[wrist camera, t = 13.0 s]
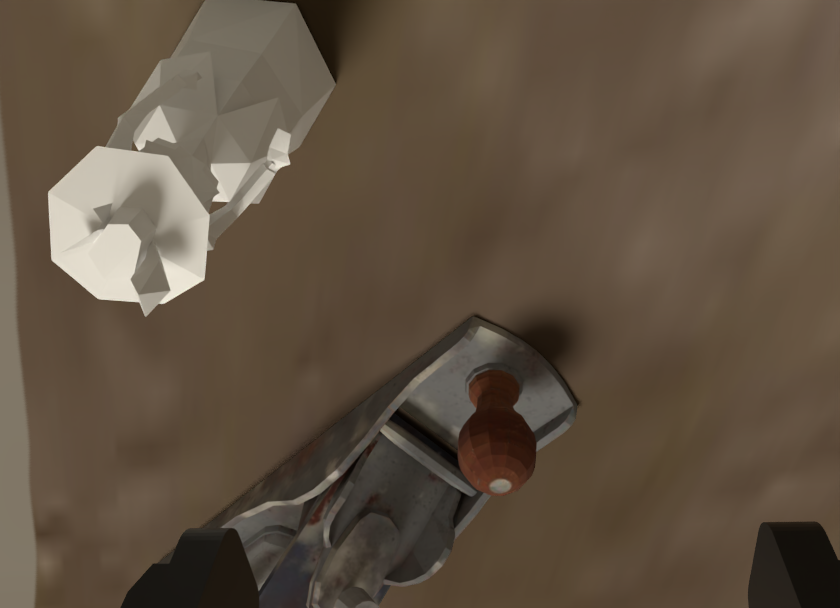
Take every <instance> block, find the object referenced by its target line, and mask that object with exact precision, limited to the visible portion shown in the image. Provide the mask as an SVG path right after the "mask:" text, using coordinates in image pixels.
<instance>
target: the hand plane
mask: <svg viewBox="0 0 840 608" xmlns="http://www.w3.org/2000/svg"><path fill="white" fill-rule="evenodd" d="M399 406H400V407H401V408H402V409H404V410H405V411H406V412H408V413H409V414H410V415H411V416H413V417H414V418H415V419H417V420H418V421H419V422H421V423H422V424H423V425H425V426H426V427H427V428H429V429H430V430H431V431H433V432H434V433H435V434H437V435H438V436H439V437H441V438H442V439H443V440H445V441H446V442H447V443H449V444H450V445H451V446H452V447H454V448H455V449H456V450H458V460H456V459H455V458H454V457H452V456H451V455H450V454H448V453H447V452H445V451H444V450H443V449H441V448H440V447H439V446H437V445H436V444H435V443H433V442H432V441H431V440H429V439H428V438H427V437H425V436H424V435H423V434H421V433H420V432H419V431H417V430H416V429H415V428H413V427H412V426H411V425H409V424H408V423H407V422H405V421H404V420H403V419H401V418H400V417H399V416H397V415H396V414H395V413H394V412H395V411H396V410H397V408H398V407H399ZM576 412H577V404H576V402H575V400H574V398H573V396H572V395H571V393H570V391H569V389H568V387H567V386H566V384H565V382H564V381H563V380H562V378H561V377H560V376H559V374H558V373H557V372H556V371H555V369H554V368H553V367H552V366H551V365H550V364H549V362H548V361H547V360H546V359H545V358H544V357H543V356H542V355H541V354H540V353H539V352H538V351H536V350H535V349H534V348H532V347H531V346H529V345H528V344H527V343H525V342H524V341H523V340H521V339H520V338H518V337H516V336H514V335H512V334H511V333H509V332H507V331H505V330H504V329H502V328H500V327H497V326H495V325H493V324H490V323H488V322H486V321H483V320H481V319H479V318H476V317H474V316H472V317H471V318H470V319H468V320H467V321H466V322H465V323H463V324H462V325H461V326H459V327H458V328H457V329H456V330H454V331H453V332H452V333H451V334H449V335H448V336H447V337H445V338H444V339H443V340H442V341H440V342H439V343H438V344H437V345H435V346H434V347H433V348H431V349H430V350H429V351H428V352H426V353H425V354H424V355H423V356H421V357H420V358H419V359H417V360H416V361H415V362H414V363H412V364H411V365H410V366H408V367H407V368H406V369H405V370H403V371H402V372H401V373H400V374H398V375H397V376H396V377H394V378H393V379H392V380H391V381H389V382H388V383H387V384H386V385H384V386H383V387H382V388H380V389H379V390H378V391H377V392H375V393H374V394H373V395H372V396H370V397H369V398H368V399H366V400H365V401H364V402H363V403H361V404H360V405H359V406H358V407H356V408H355V409H354V410H352V411H351V412H350V413H349V414H347V415H346V416H345V417H343V418H342V419H341V420H340V421H338V422H337V423H336V424H335V425H333V426H332V427H331V428H329V429H328V430H327V431H326V432H324V433H323V434H322V435H321V436H319V437H318V438H317V439H315V440H314V441H313V442H312V443H310V444H309V445H308V446H307V447H305V448H304V449H303V450H301V451H300V452H299V453H298V454H296V455H295V456H294V457H292V458H291V459H290V460H289V461H287V462H286V463H285V464H284V465H282V466H281V467H280V468H278V469H277V470H276V471H275V472H273V473H272V474H271V475H270V476H268V477H267V478H266V479H264V480H263V481H262V482H261V483H259V484H258V485H257V486H256V487H254V488H253V489H252V490H250V491H249V492H248V493H247V494H245V495H244V496H243V497H242V498H240V499H239V500H238V501H236V502H235V503H234V504H233V505H231V506H230V507H229V508H227V509H226V510H225V511H224V512H222V513H221V514H220V515H219V516H217V517H216V518H215V519H213V520H212V521H211V522H210V523H208V524H207V525H206V526H205V527H203V528H234V529H236V530H237V532H238V534H239V536H240V539H241V542H242V544H243V547H244V550H245V553H246V555H247V558H248V561H249V564H250V567H251V569H252V572H253V575H254V578H255V580H256V583H257V586H258V591H259V608H379V604H380V603H381V601H382V599H383V598H384V596H385V594H386V593H387V591H388V589H389V588H390V586H391V585H393V586H402V587H405V586H409V585H413V584H418V583H420V582H422V581H424V580H427V579H429V578H431V577H432V576H433V575H434V574H435V573H436V572H437V571H438V570H439V569H440V568H441V567H442V566H443V565H444V563H445V561H446V559H447V558H448V556H449V554H450V553H451V551H452V547H453V543H454V540H455V539H456V538H457V537H458V536H459V535H460V534H461V532H462V531H463V530H464V529H465V528H466V527H467V526H468V524H469V523H470V522H471V521H472V520H473V519H474V517H475V516H476V515H477V514H478V512H479V511H480V510H481V508H482V507H483V505H484V504H485V503H486V501H487V500H488V499H489V497H490V496H491V495H495V496H504V495H507V494H510V493H512V492H515V491H518V490H519V489H520V488H521V487H522V486H523V485H524V483H525V482H526V481H527V480H528V479H529V478H530V477H531V476H532V473H533V471H534V468H535V461H536V452H537V451H538V450H539V449H541V448H542V447H544V446H545V445H547V444H548V443H550V442H551V441H552V440H554V439H555V438H557V437H558V436H560V435H561V434H563V433H564V432H565V431H566V430H567V429H568V428H570V427H571V425H572V424H573V422H574V421H575V419H576ZM460 469H461V471H460ZM174 551H175V550H174ZM174 551H173V552H171V553H170V554H169V555H168V556H166V557H165V558H164V559H162V560H161V561H160V562H159V563H157V564H169V563H170V560H171V558H172V556H173V553H174Z"/></svg>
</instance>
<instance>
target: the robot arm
mask: <svg viewBox="0 0 840 608" xmlns="http://www.w3.org/2000/svg"><path fill="white" fill-rule="evenodd" d="M748 603H749V608H840V560H838V558H837V556H836V554H835V552H834V550H833V547H832V545H831V543H830V541H829V539H828V536H827V534H826V532H825V530H824V529H823V527H822V526H821V525H820V524H819V523H818V522H763V523H762V524H761V525H760V528H759V532H758V537H757V543H756V548H755V553H754V559H753V564H752V570H751V575H750V580H749V587H748ZM121 608H259V591H258V586H257V583H256V580H255V578H254V575H253V572H252V569H251V567H250V564H249V561H248V558H247V555H246V553H245V550H244V547H243V544H242V542H241V539H240V536H239V534H238V532H237V530H236V529H234V528H190V529H187V530H186V531H185V532H184V533H183V534H182V536H181V537H180V539H179V542H178V544H177V546H176V549H175V551H174V553H173V556H172V558H171V560H170V563H169V564H152V566H151V567H150V568H149V569H148V570H147V571H146V572H145V573H144V574H143V576H142V577H141V578H140V579H139V580H138V581H137V582H136V583H135V584H134V586H133V587H132V588H131V589H130V590H129V591H128V593H127V595H126V597H125V599H124V601H123V603H122V606H121Z"/></svg>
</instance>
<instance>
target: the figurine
mask: <svg viewBox="0 0 840 608" xmlns="http://www.w3.org/2000/svg"><path fill="white" fill-rule="evenodd" d="M335 85H336V83H335V81H334V79H333V77H332V75H331V73H330V71H329V69H328V67H327V65H326V63H325V61H324V59H323V57H322V55H321V53H320V51H319V49H318V47H317V45H316V43H315V41H314V39H313V37H312V35H311V33H310V31H309V29H308V27H307V25H306V23H305V21H304V19H303V17H302V15H301V13H300V11H299V9H298V7H297V5H296V3H285V2H274V1H263V0H205V1H204V3H203V4H202V6H201V8H200V9H199V11H198V13H197V14H196V16H195V18H194V19H193V21H192V23H191V24H190V26H189V28H188V29H187V31H186V32H185V34H184V36H183V37H182V39H181V41H180V42H179V44H178V46H177V47H176V49H175V51H174V52H173V54H172V56H171V57H170V58H169V59H164V60H160V62H159V64H158V65H157V67H156V68H155V70H154V71H153V73H152V75H151V76H150V78H149V79H148V81H147V83H146V84H145V86H144V87H143V89H142V90H141V92H140V94H139V95H138V97H137V98H136V100H135V102H134V103H133V105H132V106H131V108H130V109H129V110H128V111H126V112H125V113H124V114H122V115H121V116H120V117H118V125H117V127H116V129H115V131H114V132H113V134H112V136H111V138H110V140H109V141H108V143H107V145H106V147H100V146H96V147H95V148H94V149H93V150H92V151H91V152H90V153H89V154H88V155H87V156H86V157H85V158H84V159H83V160H82V161H80V162H79V163H78V164H77V165H76V166H75V167H74V168H73V169H72V170H71V171H70V172H69V173H68V174H67V175H66V176H65V177H64V178H63V179H61V180H60V181H59V182H58V183H57V184H56V185H55V186H54V187H53V188H52V189H51V190H50V191H49V192H48V201H49V220H50V239H51V258H52V261H53V262H55V263H56V264H57V265H58V266H59V267H61V268H62V269H63V270H64V271H65V272H66V273H68V274H69V275H70V276H71V277H72V278H74V279H75V280H76V281H77V282H78V283H80V284H81V285H82V286H83V287H84V288H86V289H87V290H88V291H89V292H90V293H92V294H93V295H94V296H95V297H96V298H98V299H103V300H116V301H130V302H140V305H141V307H142V310H143V312H144V315H145V317H146V316H147V315H148V314H149V313H150V312H151V311H152V310H153V309H154V308H155V307H156V306H157V305H158V304H164V303H166V302H168V301H169V300H171V299H173V298H174V297H176V296H178V295H179V294H181V293H183V292H185V291H186V290H188V289H190V288H191V287H193V286H195V285H196V284H198V283H200V282H201V281H203V280H204V279H205V267H206V255H207V250H213V249H214V245H215V242H216V239H217V238H218V237H219V236H220V235H221V234H222V233H223V232H224V231H225V230H226V229H227V228H228V227H229V226H230V225H231V224H232V223H233V222H234V221H235V220H236V219H237V218H238V216H239V215H240V214H241V213H242V212H243V211H244V210H245V209H246V208H247V206H248V205H249V204H250V203H258V204H259V202H260V201H261V199H262V197H263V195H264V193H265V192H266V190H267V188H268V186H269V184H270V183H271V181H272V179H273V177H274V175H275V174H276V172H277V170H279V169H280V168H281V167H283V166H286V165H290V161H289V157H288V154H289V153H291V152H292V151H294V150H296V149H297V148H299V147H300V145H301V143H302V142H303V140H304V138H305V137H306V135H307V133H308V132H309V130H310V128H311V126H312V125H313V123H314V121H315V120H316V118H317V116H318V114H319V113H320V111H321V109H322V108H323V106H324V104H325V102H326V101H327V99H328V97H329V96H330V94H331V92H332V90H333V89H334V87H335ZM133 141H134V143H135V145H136V146H137V148H138V150H139V151H138V152H136V151H131V147H132V142H133ZM212 201H219V202H229V203H228V204H227V205H226V206H224V207H223V208H221V209H219V210H217V211H216V212H214V213H212V214H210V215H209V214H208V212H209V209H210V206H211V203H212Z"/></svg>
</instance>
